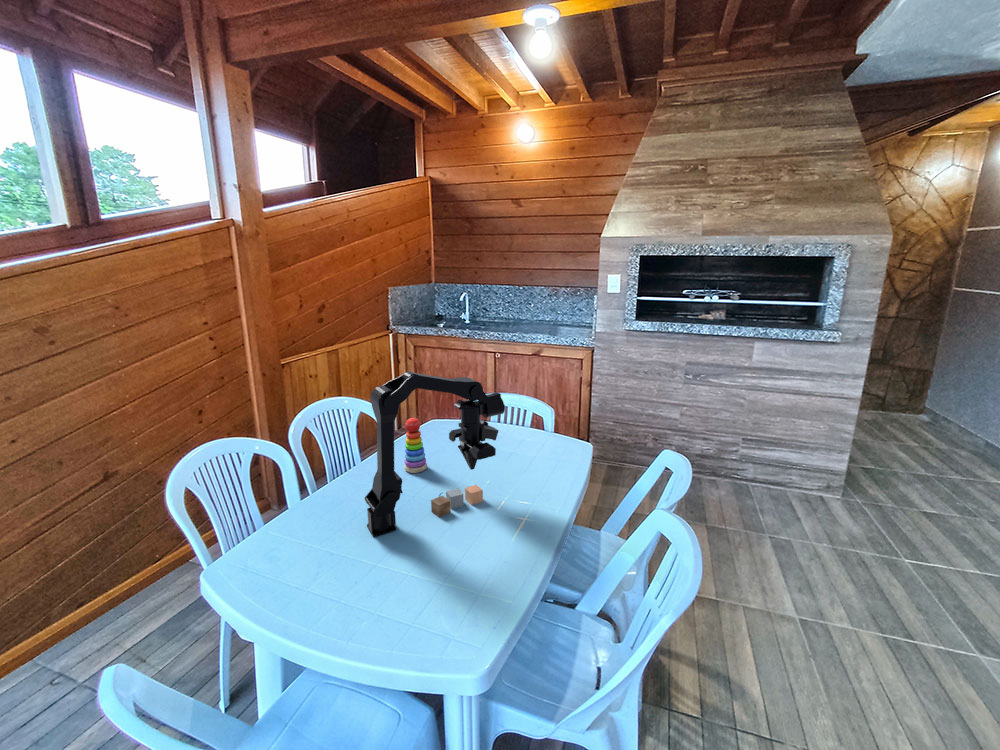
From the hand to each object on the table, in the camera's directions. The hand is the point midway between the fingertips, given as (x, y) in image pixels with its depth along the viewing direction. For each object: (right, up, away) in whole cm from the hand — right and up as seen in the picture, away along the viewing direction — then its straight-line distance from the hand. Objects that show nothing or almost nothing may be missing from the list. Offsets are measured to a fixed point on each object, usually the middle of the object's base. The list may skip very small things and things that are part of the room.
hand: (472, 469), depth 143 cm
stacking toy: (-21, -5, +24) cm, 32 cm away
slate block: (-5, -11, 0) cm, 12 cm away
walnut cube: (-9, -12, -4) cm, 16 cm away
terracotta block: (0, -10, +2) cm, 10 cm away
